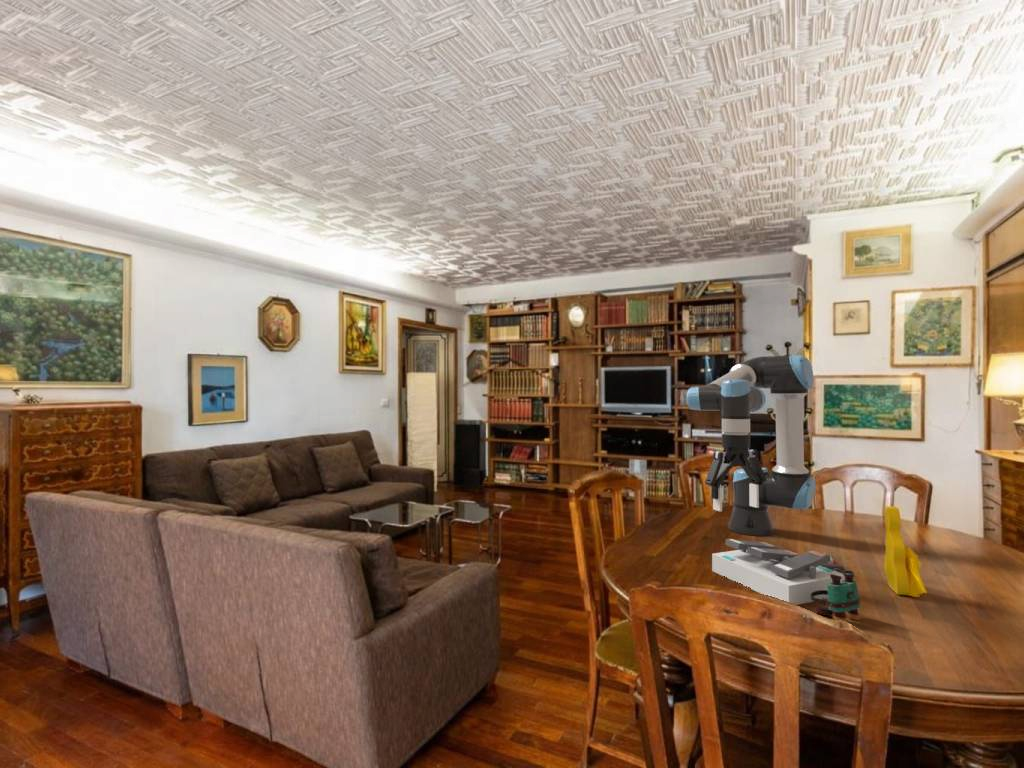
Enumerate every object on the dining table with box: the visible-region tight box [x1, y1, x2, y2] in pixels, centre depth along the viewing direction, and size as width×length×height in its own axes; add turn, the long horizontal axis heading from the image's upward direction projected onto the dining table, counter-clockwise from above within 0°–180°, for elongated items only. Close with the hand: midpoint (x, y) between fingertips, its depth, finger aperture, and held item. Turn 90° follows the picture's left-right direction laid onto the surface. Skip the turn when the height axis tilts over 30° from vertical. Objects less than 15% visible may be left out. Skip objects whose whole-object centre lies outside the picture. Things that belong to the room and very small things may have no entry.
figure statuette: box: [883, 506, 928, 598], centre depth 133 cm, size 18×8×22 cm, turn 160°
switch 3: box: [771, 549, 831, 579], centre depth 133 cm, size 15×5×2 cm, turn 111°
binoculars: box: [811, 569, 861, 622], centre depth 120 cm, size 9×11×10 cm
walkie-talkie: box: [820, 552, 845, 574], centre depth 148 cm, size 9×4×20 cm
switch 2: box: [747, 547, 801, 560], centre depth 140 cm, size 15×5×2 cm, turn 110°
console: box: [711, 549, 845, 606], centre depth 140 cm, size 20×26×8 cm
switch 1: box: [724, 538, 780, 550], centre depth 148 cm, size 15×5×2 cm, turn 110°
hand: (736, 508), depth 146 cm, fingers open, 12 cm apart
